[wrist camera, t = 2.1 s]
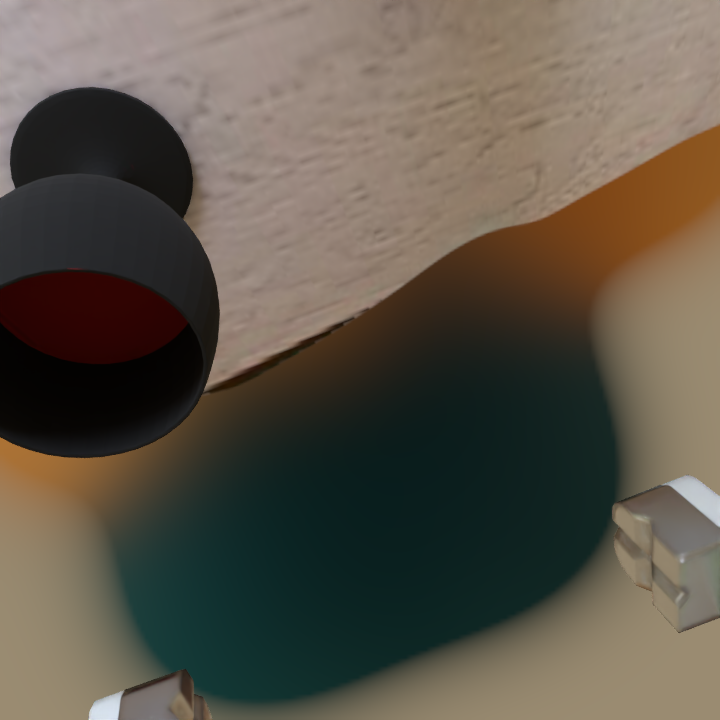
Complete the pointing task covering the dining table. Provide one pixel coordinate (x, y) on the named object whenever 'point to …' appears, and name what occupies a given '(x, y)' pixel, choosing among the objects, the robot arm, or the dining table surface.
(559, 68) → the dining table surface
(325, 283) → the dining table surface
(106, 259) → the wine glass
